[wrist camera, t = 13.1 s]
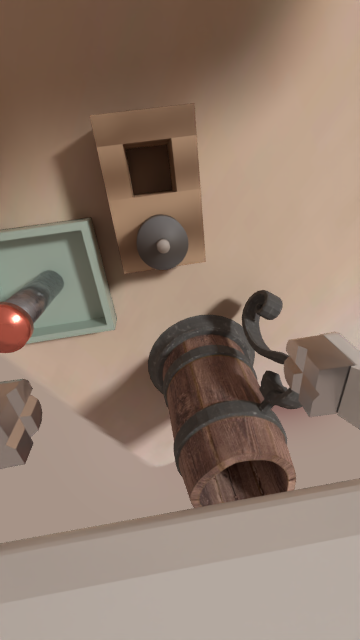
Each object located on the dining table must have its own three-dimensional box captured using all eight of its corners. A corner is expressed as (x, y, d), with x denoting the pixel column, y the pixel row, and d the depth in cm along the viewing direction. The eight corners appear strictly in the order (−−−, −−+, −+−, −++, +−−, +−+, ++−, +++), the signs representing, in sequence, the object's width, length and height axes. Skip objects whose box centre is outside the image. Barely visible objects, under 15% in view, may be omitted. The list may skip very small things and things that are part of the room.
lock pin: (28, 268, 32) (-38, 311, 21) (62, 263, 33) (17, 303, 21) (39, 299, 34) (-15, 356, 22) (72, 295, 34) (35, 348, 23)
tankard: (217, 415, 48) (261, 550, 31) (129, 385, 43) (120, 529, 25) (303, 306, 40) (429, 405, 23) (207, 252, 35) (274, 327, 17)
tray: (-28, 233, 31) (-44, 238, 28) (91, 217, 31) (86, 221, 29) (18, 334, 37) (9, 346, 34) (116, 318, 37) (115, 329, 35)
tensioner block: (97, 125, 28) (81, 105, 20) (186, 115, 28) (201, 92, 21) (126, 261, 34) (122, 284, 27) (197, 251, 35) (212, 270, 27)
